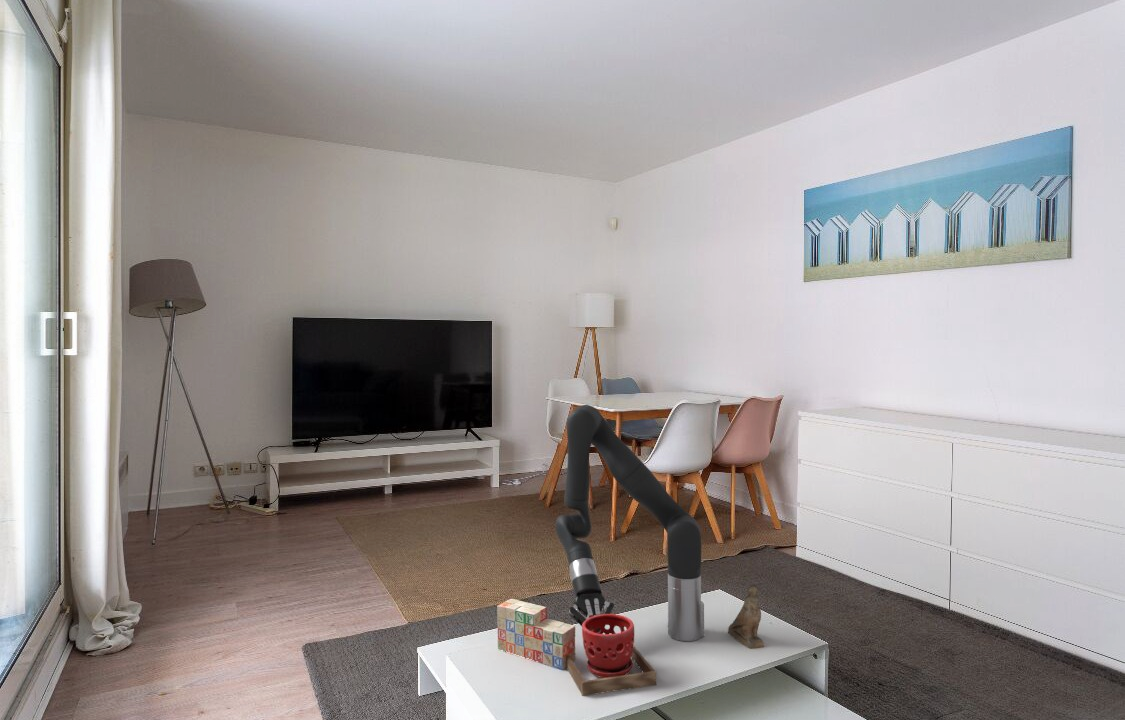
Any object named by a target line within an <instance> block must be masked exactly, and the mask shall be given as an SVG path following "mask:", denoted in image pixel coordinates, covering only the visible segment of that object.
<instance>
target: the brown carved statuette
mask: <svg viewBox="0 0 1125 720" xmlns="http://www.w3.org/2000/svg"><path fill="white" fill-rule="evenodd" d="M758 589H759V588H758V586H757V585H750V586H749V587H748V589H747V592H748V595H747V596H745V599H744V602H743V605H742V607H741V609H740V611H739V612H738V614H737V616H736V617H735V618H734V620H733V621H732V623H730V625H729V626H728V629H727V633H728V634H729V635H730V637H732V638H734V639H735V640H736V641H738V643H741V644H742V645H744V646H746V647H747V648H748V649H751V650H752V649H757V648H763V647H765V645H764V641H763V639H762V638H760V637H758V631H759V626H760V623H761V620H762V610H761V608H760V606H759V602H760V601H759V599H760V598H759V595H758Z"/></svg>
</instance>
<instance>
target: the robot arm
mask: <svg viewBox="0 0 1125 720" xmlns="http://www.w3.org/2000/svg"><path fill="white" fill-rule="evenodd" d="M566 435H567V437H566V440H567V469H566V479H565V487H564V499H563V502H564V506H565V507H566V508H569V509H571V510H575V511H578V513H577V514H576V513H573V514H570V513H569V514H560V515H558V517H557V518H556V520H555V523H554V527H555V533H556V536H557V538H558V539H559V541H560V542H561V545H562V547H563V549H564V551H565V554H566V556H567V560H568V565H569V575H570V582H571V586H572V591H573V595H574V604H573V605H572V606H570V608H569V610H568V615H569V616H570V617H571V618H572V619H573V620H574V621H575V622H577V624H579V625H580V626H581V627H582V624H583V622H584V621H585V620H586V619H588V618H590V617H593V616H596V615H601V611H602V609H603V608H604V609H603V610H604V611H605V613H604V614H612V611H613V609H614V607H615V605H614V603H613V602H608V601H607V600H606V598H605V597H604V595H603V594H602V593H603V592H602V588H601V583H600V578H599V574H598V570H597V568H596V564H595V562H594V558H593V553H592V549H591V546H590V544H589V543H588V542H586V541H583V540H581V539H586V538H588V537H589V535H590V534H591V532H592V522H591V515H590V511H589V496H590V495H589V494H590V483H591V478H590V477H591V474H590V452H591V446H592V445H593V446H594V448H595V449H596V450H597V451H598V453H600V455H601V457H602V459H603V460H604V463H605V464H606V466H607V468H608V470H609V473H610V474H611V476H612V477H613V478H614V480H615V481H616V482H617V484H618V485H619V486H620V487H621V488H622V489H623V490H624V491H625V492H626V494H627V495H628V496H629V497H630V498H632V499H633V500H634V501H636V502H637V503H639V505H640V506H642V507H644V509H646V510H648V511H649V512H650V513H651V514H652V515H653V516H654V517H655V518H656V520H657V521H658V522H659V523H660V524H661V526H662V527H663V529H664V530H665V531H666V533H667V634H668V636H669V637H671V638H672V639H674V640H677V641H681V642H693V641H697V640H699V639H701V638H704V637H705V604H704V601H702V533H701V528H700V525H699V523H698V521H697V520H696V519H695V518H694V517H693V516H692V515H691V514H690V513H689V512H688V511H686V510H685V509H684V508H683V507H682V506H681V505H680V504H679V503H677V502H676V501H675V499H673V497H672V496H671V495H670V494H669V493H668V492H667V490H666V488H665V487H664V486H663V485H662V483H661V482H660V481H659V479H658V478H657V477H656V476H655V475H654V474H653V472H652V471H651V470H650V469H649V468H648V466H647V465H646V464H645V463H644V462H643V461H642V460H641V459H640V458H639V457H638V456H637V454H635V453H634V452H633V451H632V449H630V447H629V446H628V445H627V444H626V443H624V442H623V440H622V439H621V438H620V437H619V436H618V434H616V432H615V431H614V430H613V428H612V426H610V425H609V424H608V422H607V421H606V418H604V416H603V415H602V414H601V412H600V411H599V410H598V409H597V408H596V407H594V406H592V405H589V404H581V405H579V406H577V407H576V408H575V409H574V410H572V411H571V412H570V413H569V415H568V416H567V419H566ZM592 630H593V628H591V629H590V631H591V632H592ZM596 632H597V633H598V632H600V628H597V630H596ZM602 634H604V633H602Z"/></svg>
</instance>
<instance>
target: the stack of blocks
mask: <svg viewBox="0 0 1125 720" xmlns="http://www.w3.org/2000/svg"><path fill="white" fill-rule="evenodd" d="M496 611H497V614H496V616H497V617H496V619H497V620H496V621H497V624H496V625H497V650H498V649H500V650H499V651H501V650H503V651H502V652H504V651H507V652H510V653H513V654H516V655H519V656H522V657H526V658H529V659H532V660H536V661H538V662H537V663H539V662H542V663H543V665H545V664H546V666H550V667H553V668H554V669H558V670H561V671H562V670H564V669H567V668H566V656H568V655H569V656H570V657H571V659H572V661H573V662H576V625H574V624H569V623H566V622H563V621H559V620H555V619H551V618H548V611H547V607H546V606H543V605H539V604H534V603H530V602H527V601H523V600H522V601H521V600H518V599H515V598H510V599H507V600H506V601H504V602H502V603H500V604H498V605H497V606H496ZM507 652H506V653H507ZM513 654H512V655H513ZM516 655H515V656H516ZM519 656H518V657H519ZM522 657H521V658H522ZM526 658H525V659H526ZM529 659H528V660H529ZM532 660H531V661H532ZM536 661H535V662H536ZM542 663H541V664H542Z"/></svg>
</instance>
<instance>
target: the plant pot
mask: <svg viewBox="0 0 1125 720" xmlns="http://www.w3.org/2000/svg"><path fill="white" fill-rule="evenodd" d="M585 619H586V618H585ZM606 626H609V628H608V629H607V628H606ZM615 627H618V628H619V629H620V632H618V633H617V632H615ZM591 628H593V630H592V632H591V631H590V629H591ZM597 628H600V632H598V633H597V632H596V630H597ZM625 628H626V629H625ZM581 631H582V632H581V634H582V635H581V636H582V644H583V648H584V652H585V655H586V657H587V659H588V660H587V661H586V666H587V669H588V670H589V672H590V673H591V674H593V675H594V676H596V677H599V678H608V677H615V676H622V675H629V673H630V672H631V670H632V669H633V667H634V660H633V659H632V653H633V647H635V646H634V644H635V624H634V622H633V620H632V619H630V618H629V617H627V616H624V615H621V614H616V613H615V614H614V613H610V614H605V613H604V614H600V615H596V616H593V617H590V618H588V619H586V620H585V621H584V622H583V624H582V626H581ZM602 633H603V634H602Z"/></svg>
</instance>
